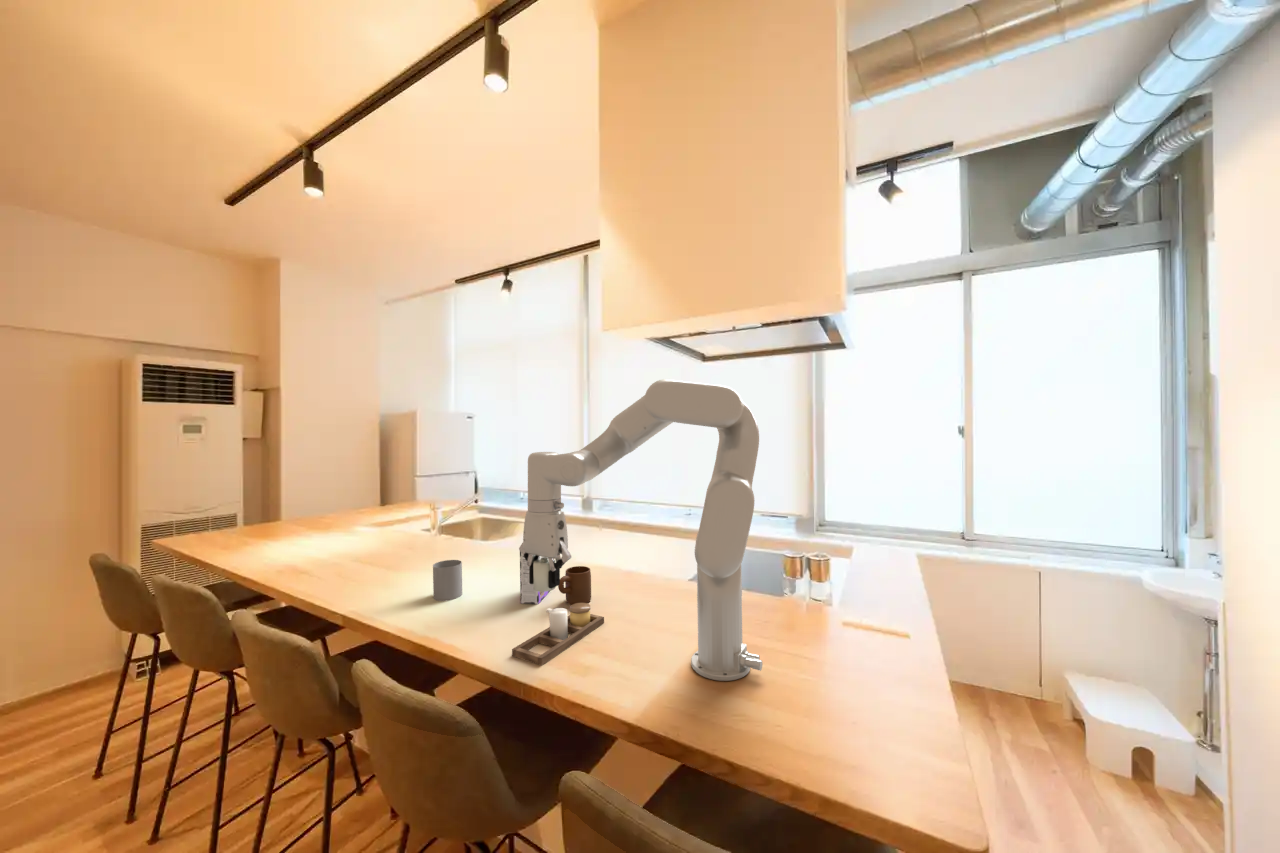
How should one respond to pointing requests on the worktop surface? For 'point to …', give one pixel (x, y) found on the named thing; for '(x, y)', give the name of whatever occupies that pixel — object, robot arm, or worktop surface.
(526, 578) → the candy box
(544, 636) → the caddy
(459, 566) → the cup
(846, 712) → the worktop surface
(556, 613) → the cylinder
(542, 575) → the sugar pot
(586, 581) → the mug
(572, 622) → the honey jar
